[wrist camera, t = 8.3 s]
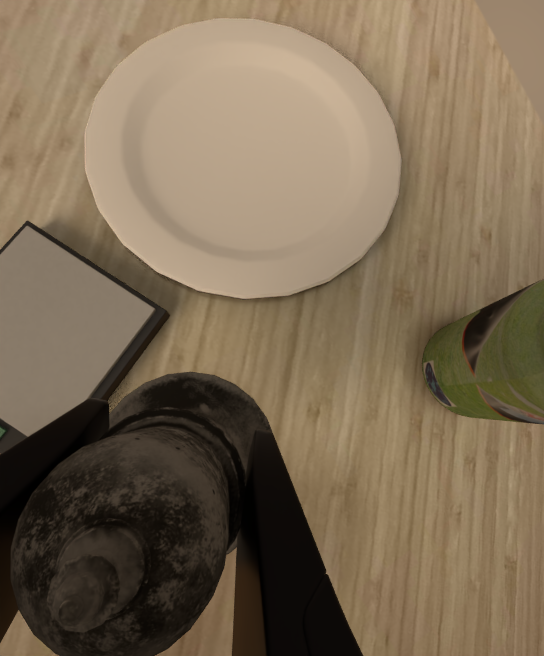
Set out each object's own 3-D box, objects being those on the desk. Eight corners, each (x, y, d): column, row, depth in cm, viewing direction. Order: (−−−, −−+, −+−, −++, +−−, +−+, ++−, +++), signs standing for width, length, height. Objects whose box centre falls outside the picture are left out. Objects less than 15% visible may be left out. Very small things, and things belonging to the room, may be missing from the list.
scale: (51, 475, 20) (36, 482, 19) (-96, 377, 20) (-124, 375, 19) (170, 315, 23) (165, 309, 21) (37, 229, 23) (23, 216, 21)
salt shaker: (190, 564, 14) (-17, 1344, 2) (91, 451, 14) (-498, 641, 3) (296, 451, 15) (500, 596, 4) (201, 351, 16) (114, 195, 4)
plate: (439, 132, 27) (452, 115, 26) (301, 366, 23) (307, 364, 21) (205, -8, 28) (203, -34, 26) (23, 194, 23) (7, 178, 21)
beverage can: (515, 405, 24) (789, 408, 12) (412, 431, 23) (601, 462, 11) (485, 313, 25) (709, 234, 13) (385, 334, 24) (531, 268, 12)
